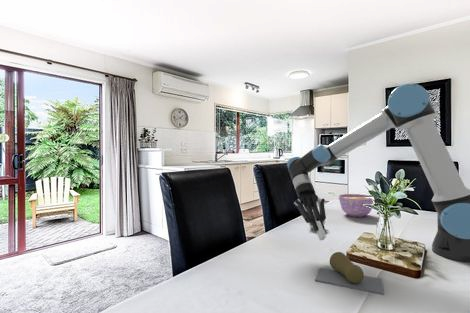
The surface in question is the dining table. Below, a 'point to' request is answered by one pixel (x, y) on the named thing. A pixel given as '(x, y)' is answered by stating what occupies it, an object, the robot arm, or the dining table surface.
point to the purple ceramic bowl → (355, 204)
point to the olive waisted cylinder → (346, 267)
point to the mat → (339, 279)
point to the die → (312, 226)
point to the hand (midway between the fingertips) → (322, 238)
